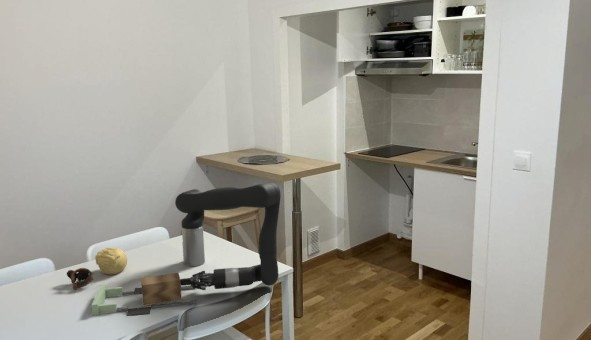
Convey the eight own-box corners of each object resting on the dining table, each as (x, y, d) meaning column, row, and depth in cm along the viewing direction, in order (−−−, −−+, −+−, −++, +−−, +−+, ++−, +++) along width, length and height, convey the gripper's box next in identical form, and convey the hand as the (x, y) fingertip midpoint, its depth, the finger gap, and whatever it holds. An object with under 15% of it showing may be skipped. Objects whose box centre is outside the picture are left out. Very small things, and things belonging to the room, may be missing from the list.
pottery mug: (100, 281, 201) (97, 269, 195) (87, 299, 194) (84, 287, 188) (74, 272, 202) (71, 260, 196) (60, 290, 195) (56, 278, 189)
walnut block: (143, 305, 178) (141, 285, 177) (142, 297, 185) (140, 277, 183) (181, 299, 183) (180, 279, 181) (179, 291, 189) (178, 272, 188)
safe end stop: (92, 315, 172) (91, 305, 171) (101, 294, 187) (100, 285, 186) (116, 313, 173) (115, 302, 172) (123, 292, 188) (122, 283, 188)
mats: (126, 316, 171) (126, 315, 171) (135, 288, 192) (134, 287, 192) (150, 313, 172) (150, 312, 172) (155, 286, 193) (155, 286, 193)
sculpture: (92, 274, 205) (90, 251, 203) (112, 264, 216) (110, 241, 214) (113, 279, 201) (111, 254, 199) (133, 268, 212) (131, 244, 210)
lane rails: (116, 311, 174) (116, 309, 174) (123, 293, 188) (122, 291, 187) (195, 304, 179) (195, 301, 179) (196, 287, 193) (196, 284, 192)
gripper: (225, 262, 192) (180, 266, 189) (226, 276, 179) (179, 280, 176) (225, 279, 194) (181, 284, 190) (227, 294, 181) (180, 299, 178)
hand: (180, 282), depth 183 cm, fingers closed
